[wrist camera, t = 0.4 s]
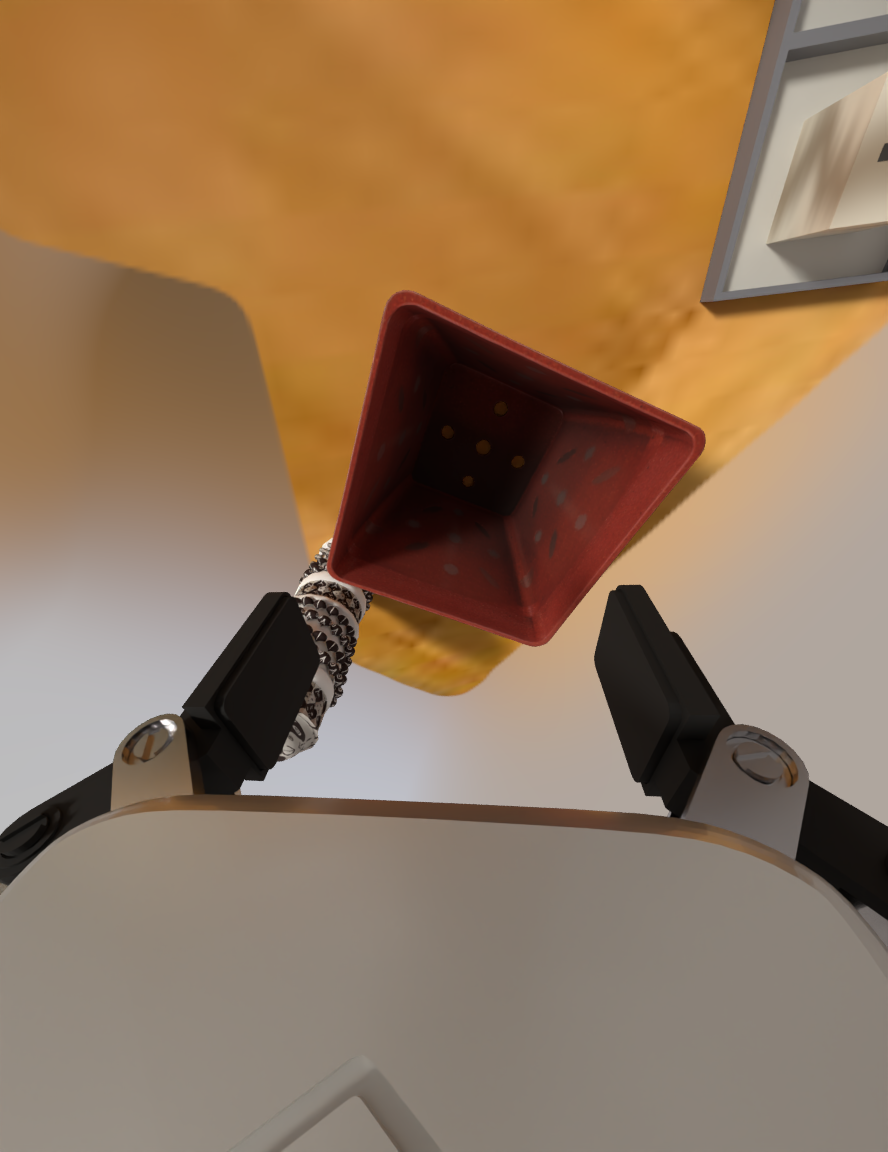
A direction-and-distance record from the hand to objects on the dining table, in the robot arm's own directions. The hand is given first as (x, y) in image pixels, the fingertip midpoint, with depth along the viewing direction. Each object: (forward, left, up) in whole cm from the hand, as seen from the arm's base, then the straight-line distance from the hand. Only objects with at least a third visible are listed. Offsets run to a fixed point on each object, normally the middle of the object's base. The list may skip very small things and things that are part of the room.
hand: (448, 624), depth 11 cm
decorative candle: (+18, -17, -31) cm, 39 cm away
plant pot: (+4, +1, -31) cm, 31 cm away
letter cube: (-13, +26, -30) cm, 42 cm away
